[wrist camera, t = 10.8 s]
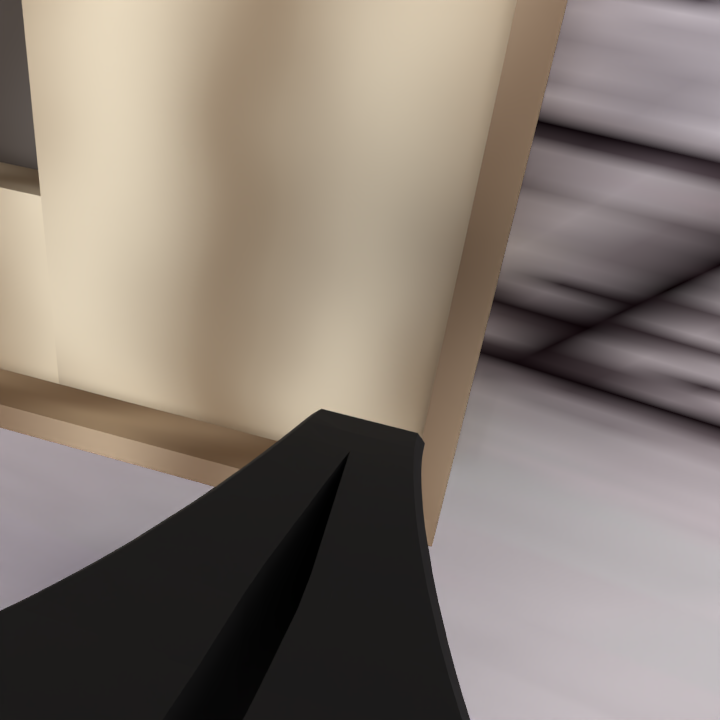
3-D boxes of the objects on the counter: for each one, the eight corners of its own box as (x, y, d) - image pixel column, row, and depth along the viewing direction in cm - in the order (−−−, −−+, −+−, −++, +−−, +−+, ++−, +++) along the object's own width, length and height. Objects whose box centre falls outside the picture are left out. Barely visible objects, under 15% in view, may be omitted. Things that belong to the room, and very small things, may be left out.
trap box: (584, -81, 14) (593, -102, 11) (449, 464, 20) (431, 546, 17) (-382, -210, 17) (-581, -255, 14) (-225, 291, 24) (-339, 334, 21)
